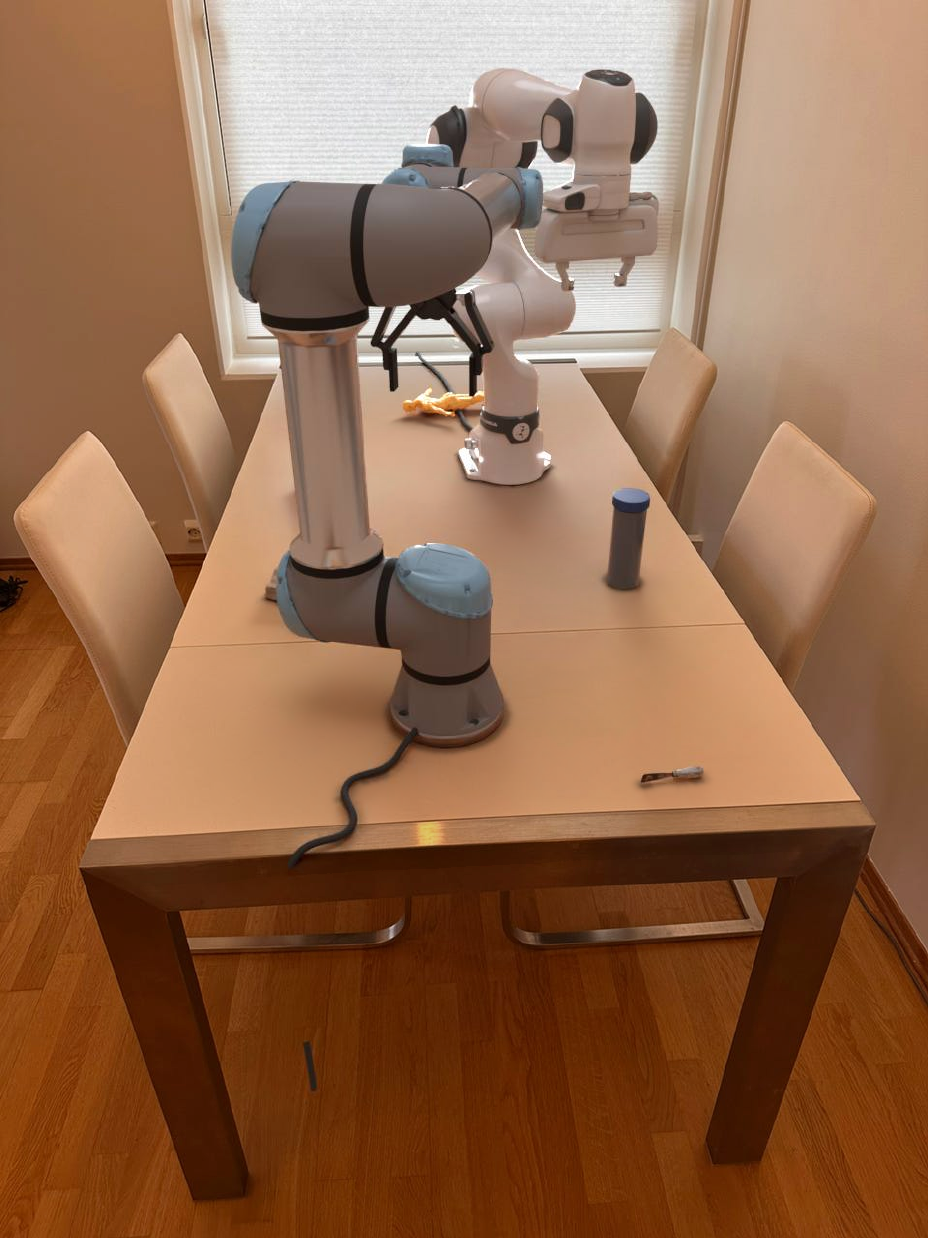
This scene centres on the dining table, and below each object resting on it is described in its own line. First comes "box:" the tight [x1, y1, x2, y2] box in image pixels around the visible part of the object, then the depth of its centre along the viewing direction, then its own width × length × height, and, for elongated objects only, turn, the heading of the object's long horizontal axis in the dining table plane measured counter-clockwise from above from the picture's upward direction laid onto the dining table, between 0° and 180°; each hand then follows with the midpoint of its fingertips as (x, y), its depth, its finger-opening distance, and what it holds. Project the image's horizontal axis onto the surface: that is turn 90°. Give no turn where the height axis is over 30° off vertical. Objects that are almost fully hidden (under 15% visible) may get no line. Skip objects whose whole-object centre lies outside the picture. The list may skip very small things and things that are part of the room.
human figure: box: [402, 385, 484, 418], centre depth 225 cm, size 20×20×4 cm
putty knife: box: [640, 765, 705, 784], centre depth 109 cm, size 1×8×2 cm, turn 103°
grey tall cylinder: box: [606, 507, 648, 590], centre depth 147 cm, size 5×5×15 cm
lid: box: [611, 487, 651, 513], centre depth 143 cm, size 6×6×2 cm
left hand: (433, 391), depth 149 cm, fingers open, 13 cm apart
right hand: (593, 288), depth 144 cm, fingers open, 8 cm apart
